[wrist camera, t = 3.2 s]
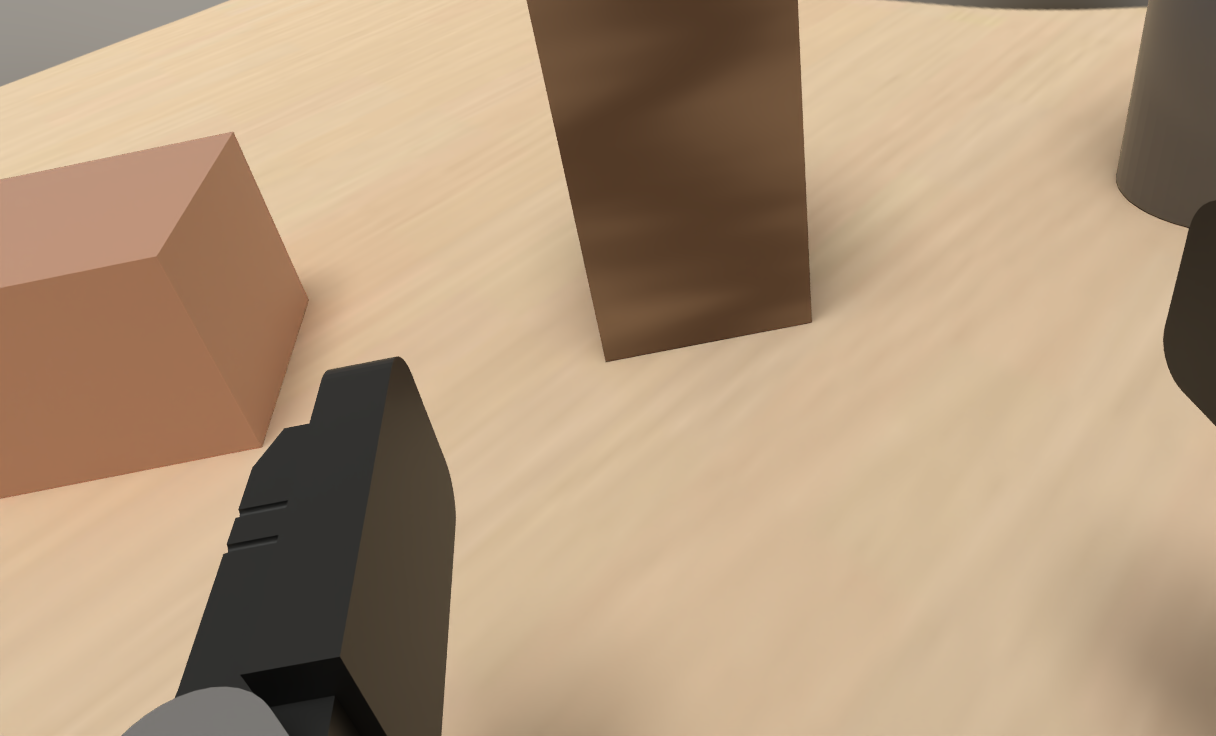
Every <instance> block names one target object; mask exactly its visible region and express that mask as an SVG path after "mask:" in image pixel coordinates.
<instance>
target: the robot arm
mask: <svg viewBox="0 0 1216 736" xmlns="http://www.w3.org/2000/svg"><path fill="white" fill-rule="evenodd" d="M1163 344H1164V353H1165V358H1166V362H1167V365H1168V368H1169V370H1170V373H1171V375H1172V377H1173V379H1174V381H1175V382H1176V384H1177V385H1178V387H1179V388H1180V389H1181V390H1182V391H1183V392H1184V393H1185V395H1186V396H1187V397H1188V398H1189V399H1190V400H1191V401H1192V402H1193V403H1194V404H1195V405H1196V406H1197V407H1198V408H1199V409H1200V410H1201V411H1202V412H1203V413H1204V414H1205V415H1206V416H1207V417H1208V418H1209V420H1210V421H1211V422H1212V423H1213V424H1214V425H1215V426H1216V200H1215V201H1210V202H1208V203H1206V204H1204V205H1203V206H1202V207H1200V208H1199V209H1198V211H1197V212H1196V213H1195V215H1194V217H1193V219H1192V221H1191V224H1190V227H1189V231H1188V235H1187V239H1186V243H1185V247H1184V251H1183V255H1182V259H1181V264H1180V268H1179V272H1178V276H1177V280H1176V284H1175V288H1174V292H1173V296H1172V300H1171V304H1170V308H1169V312H1168V316H1167V320H1166V324H1165V329H1164V338H1163ZM238 510H239V513H240V517H238V518H235V521H234V524H233V527H232V530H231V533H230V536H229V539H228V542H227V546H228V553H225V554H223V557H222V560H221V563H220V566H219V569H218V572H217V575H216V578H215V581H214V584H213V587H212V590H211V593H210V596H209V599H208V602H207V605H206V608H205V611H204V614H203V617H202V620H201V623H200V626H199V629H198V632H197V635H196V638H195V641H194V644H193V647H192V650H191V653H190V656H189V659H188V662H187V665H186V668H185V671H184V674H183V677H182V680H181V683H180V686H179V689H178V691H177V694H176V696H175V699H173V700H171V701H169V702H167V703H165V704H163V705H161V706H159V707H158V708H156V709H154V710H153V711H151V712H150V713H148V714H147V715H145V716H144V717H143V718H141V719H140V720H139V721H138V722H136V723H135V724H134V725H132V726H131V727H130V728H129V729H128V730H127V731H126V732H125V733H124V734H123V735H122V736H441V732H442V717H443V702H444V687H445V673H446V658H447V643H448V628H449V614H450V599H451V584H452V569H453V554H454V540H455V525H456V511H455V500H454V493H453V487H452V482H451V478H450V474H449V470H448V467H447V464H446V461H445V458H444V456H443V453H442V451H441V448H440V446H439V443H438V440H437V438H436V435H435V433H434V430H433V428H432V425H431V422H430V420H429V417H428V415H427V412H426V410H425V407H424V405H423V402H422V399H421V397H420V394H419V392H418V389H417V387H416V384H415V381H414V379H413V376H412V374H411V372H410V369H409V367H408V366H407V364H406V362H405V361H404V360H403V359H402V358H401V357H393V358H387V359H382V360H377V361H372V362H367V363H362V364H356V365H351V366H346V367H341V368H336V369H331V370H328V371H326V372H325V374H324V375H323V377H322V380H321V384H320V387H319V391H318V395H317V398H316V402H315V405H314V409H313V413H312V416H311V420H310V423H309V424H305V425H300V426H294V427H289V428H284V429H283V431H282V432H281V433H280V434H279V436H278V437H277V438H276V439H275V441H274V442H273V443H272V444H271V445H270V447H269V448H268V449H267V450H266V452H265V453H264V454H263V455H262V457H261V458H260V459H259V460H258V461H257V463H256V464H255V465H254V466H253V468H252V470H251V473H250V476H249V479H248V482H247V485H246V488H245V491H244V494H243V497H242V500H241V503H240V506H239V509H238Z"/></svg>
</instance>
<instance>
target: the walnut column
mask: <svg viewBox="0 0 1216 736" xmlns="http://www.w3.org/2000/svg"><path fill="white" fill-rule="evenodd" d="M527 4H528V9H529V13H530V18H531V22H532V27H533V32H534V36H535V41H536V45H537V50H538V54H539V59H540V63H541V68H542V73H543V77H544V82H545V86H546V91H547V95H548V100H549V104H550V109H551V114H552V118H553V123H554V127H555V132H556V136H557V141H558V145H559V150H560V155H561V159H562V164H563V168H564V173H565V177H566V182H567V186H568V191H569V196H570V200H571V205H572V209H573V214H574V218H575V223H576V227H577V232H578V237H579V241H580V246H581V250H582V255H583V259H584V264H585V268H586V273H587V278H588V282H589V287H590V291H591V296H592V300H593V305H594V309H595V314H596V319H597V323H598V328H599V332H600V337H601V341H602V346H603V350H604V355H605V360H606V362H607V361H612V360H617V359H623V358H628V357H633V356H638V355H643V354H649V353H654V352H659V351H664V350H669V349H675V348H680V347H685V346H690V345H695V344H701V343H706V342H711V341H716V340H722V339H727V338H732V337H737V336H742V335H748V334H753V333H758V332H763V331H768V330H774V329H779V328H784V327H789V326H794V325H800V324H805V323H810V322H812V318H811V295H810V272H809V249H808V226H807V203H806V180H805V157H804V134H803V111H802V88H801V65H800V42H799V19H798V0H527Z"/></svg>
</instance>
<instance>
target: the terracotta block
mask: <svg viewBox="0 0 1216 736" xmlns="http://www.w3.org/2000/svg"><path fill="white" fill-rule="evenodd" d="M308 301H309V300H308V297H307V295H306V293H305V291H304V289H303V286H302V284H301V282H300V280H299V277H298V275H297V273H296V271H295V268H294V266H293V264H292V262H291V259H290V257H289V255H288V253H287V251H286V248H285V246H284V244H283V242H282V239H281V237H280V235H279V233H278V230H277V228H276V226H275V224H274V222H273V219H272V217H271V215H270V213H269V210H268V208H267V206H266V204H265V201H264V199H263V197H262V195H261V192H260V190H259V188H258V186H257V184H256V181H255V179H254V177H253V175H252V172H251V170H250V168H249V166H248V163H247V161H246V159H245V157H244V155H243V152H242V150H241V148H240V146H239V143H238V141H237V139H236V137H235V134H234V132H229V133H224V134H219V135H215V136H210V137H205V138H200V139H195V140H190V141H185V142H181V143H176V144H171V145H166V146H161V147H156V148H152V149H147V150H142V151H137V152H132V153H127V154H122V155H118V156H113V157H108V158H103V159H98V160H93V161H89V162H84V163H79V164H74V165H69V166H64V167H59V168H55V169H50V170H45V171H40V172H35V173H30V174H26V175H21V176H16V177H11V178H6V179H1V180H0V499H1V498H6V497H11V496H16V495H21V494H27V493H32V492H37V491H42V490H47V489H52V488H57V487H62V486H67V485H72V484H77V483H82V482H88V481H93V480H98V479H103V478H108V477H113V476H118V475H123V474H128V473H133V472H138V471H144V470H149V469H154V468H159V467H164V466H169V465H174V464H179V463H184V462H189V461H194V460H200V459H205V458H210V457H215V456H220V455H225V454H230V453H235V452H240V451H245V450H250V449H255V448H261V447H262V445H263V442H264V439H265V436H266V433H267V430H268V427H269V423H270V420H271V417H272V414H273V411H274V408H275V405H276V401H277V398H278V395H279V392H280V389H281V386H282V383H283V379H284V376H285V373H286V370H287V367H288V364H289V361H290V357H291V354H292V351H293V348H294V345H295V342H296V339H297V335H298V332H299V329H300V326H301V323H302V320H303V317H304V313H305V310H306V307H307V304H308Z"/></svg>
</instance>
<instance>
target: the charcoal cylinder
mask: <svg viewBox="0 0 1216 736" xmlns="http://www.w3.org/2000/svg"><path fill="white" fill-rule="evenodd" d="M1116 182H1117V185H1118V187H1119V189H1120V191H1121V192H1122V194H1123V195H1124V196H1125V197H1126V198H1127V199H1128V200H1129V201H1130V202H1131V203H1133V204H1134V205H1136V206H1137V207H1138V208H1140V209H1142V210H1144V211H1146V212H1147V213H1149V214H1152V215H1154V216H1156V217H1158V218H1161V219H1163V220H1166V221H1169V222H1172V223H1175V224H1178V225H1182V226H1186V227H1190V224H1191V221H1192V219H1193V217H1194V215H1195V213H1196V212H1197V211H1198V209H1199V208H1200V207H1202V206H1203V205H1204V204H1206V203H1208V202H1210V201H1215V200H1216V0H1149V2H1148V7H1147V12H1146V17H1145V23H1144V28H1143V34H1142V39H1141V44H1140V50H1139V55H1138V61H1137V66H1136V71H1135V77H1134V82H1133V88H1132V93H1131V98H1130V104H1129V109H1128V115H1127V120H1126V125H1125V131H1124V136H1123V142H1122V147H1121V152H1120V158H1119V163H1118V169H1117V174H1116Z"/></svg>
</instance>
